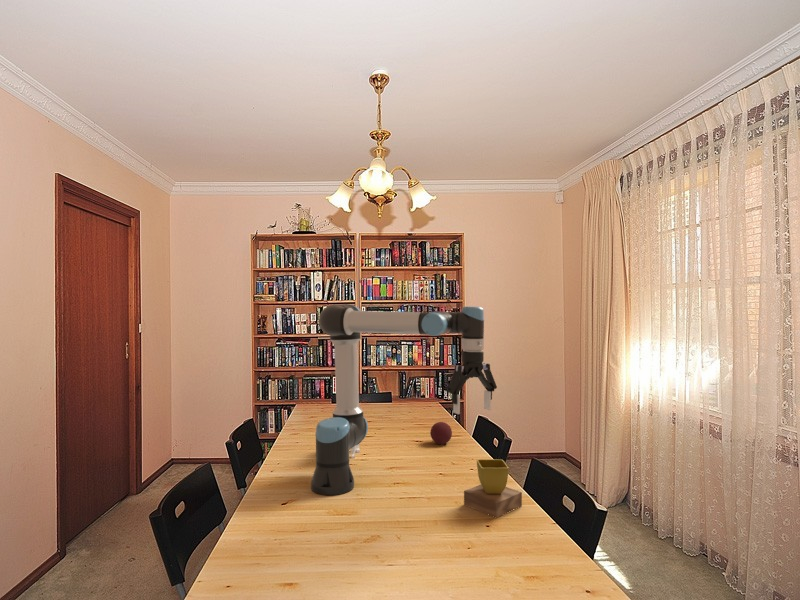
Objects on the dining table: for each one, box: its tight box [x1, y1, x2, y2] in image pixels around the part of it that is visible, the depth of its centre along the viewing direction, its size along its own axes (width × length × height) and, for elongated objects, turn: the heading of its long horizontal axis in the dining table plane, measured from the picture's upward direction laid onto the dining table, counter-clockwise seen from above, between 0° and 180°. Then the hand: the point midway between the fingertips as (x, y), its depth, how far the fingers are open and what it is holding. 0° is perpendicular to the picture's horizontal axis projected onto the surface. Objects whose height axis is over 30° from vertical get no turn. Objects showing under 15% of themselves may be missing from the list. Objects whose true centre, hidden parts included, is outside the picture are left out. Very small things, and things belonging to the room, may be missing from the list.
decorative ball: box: [429, 421, 453, 445], centre depth 230 cm, size 10×10×10 cm
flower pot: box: [476, 458, 510, 494], centre depth 160 cm, size 9×9×9 cm
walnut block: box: [463, 484, 523, 519], centre depth 160 cm, size 13×13×5 cm
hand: (472, 411), depth 174 cm, fingers open, 13 cm apart
